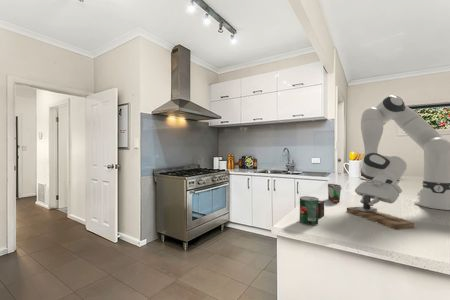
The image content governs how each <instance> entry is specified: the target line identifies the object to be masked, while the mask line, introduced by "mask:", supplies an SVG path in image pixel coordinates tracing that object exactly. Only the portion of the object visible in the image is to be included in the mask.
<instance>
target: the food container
mask: <svg viewBox="0 0 450 300" xmlns="http://www.w3.org/2000/svg"><path fill="white" fill-rule="evenodd" d="M342 190H343V188H342V185H340V184H335V183H328V184H327V196H328V197H327V199H328V200H329V201H330V202H331V203H332V204H339V203H340V202H341V201H340V199H341V191H342Z"/></svg>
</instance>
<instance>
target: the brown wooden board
mask: <svg viewBox="0 0 450 300" xmlns="http://www.w3.org/2000/svg"><path fill="white" fill-rule="evenodd" d="M357 207H358V206H350V207H346V212H348V213H350V214H353V215H354V216H355V215H356V216H358V217H360V216H361V218H363V219H366V220H368V221H370V222H371V221H372V222H373V223H377V224H380V225H382V226H384V227H388V228H389V229H390V228H391V229H393V230H403V229H411V228H412V229H414V228H415V222H413V221H410V220H406V219H403V218H401V217H397V216H395V215H391V214H387V213H385V212H382V211H378V210H377V211H373V212H363V211H360V210H357ZM361 207H363V205H362V206H361ZM413 227H414V228H413Z"/></svg>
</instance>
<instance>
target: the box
mask: <svg viewBox="0 0 450 300" xmlns="http://www.w3.org/2000/svg"><path fill="white" fill-rule="evenodd" d="M323 217H325V201H324V200H320V199H319V200H318V219H322V218H323Z"/></svg>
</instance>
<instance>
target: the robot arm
mask: <svg viewBox="0 0 450 300" xmlns="http://www.w3.org/2000/svg"><path fill="white" fill-rule="evenodd" d="M391 120H393V121H394V122H395V124H396V125H397V126H398V127H399V128H400V129H401V130H402V131H403V132H404V133H405V134H406V135H407V136H408V137H409V138H410V139H411V140H412V141H414V143H416V144H417V146H419V147H420V148H421V149H422V151H423V180H422V188H421V189H420V190H419V191H418V192H417V200H415V201H414V205H416V206H420V207H424V208H430V209H433V210H434V209H435V210H446V211H450V140H448V139H447V138H445V137H443V136H442V134H440V133H439V131H437V130H436V129H435V127H433V126H432V125H431V124H430V123H429V122H428V121H426V120H425V119H424V118H423V117H422V116H421V115H420V114H419V113H418V112H416V111H415V110H414V109H412V108H410V107H409V106H407V105H405V102H404V100H403V99H402V98H401V97H400V96H397V95H392V94H391V95H389V96H386V97H385V98H384V99H383V100H382V101H381V102H380V103H378V104H377V105H376V107H368V108H366V109H365V110H363V112H362V115H361V119H360V130H361V136H362V137H361V138H362V141H363V146H364V156H363V160H362V165H361V169H360V173H361V176H362V177H363V178H364V179H366V180H365V181H362V182H360V183H359V185H358V186H357V187H355V189H354V192H355V193H356V195H358V196H360V197H361V199H360V201H359V202H360V203H361V204H363V195H368V196H371V201H369V202H368V205H369V206H370V207H373V206H374V205H375V204H377V203H379V202H382V203H383V202H384V203H387V204H394V203H395V202H397V200H398V198H399V197H400V194H401V193H402V192H403V190H402V188H401V187H400V186H399V185H398V183H397V181H398V180H400V179H401V178H402V176H403V174H405V171H406V170H407V162H406V161H405V160H404V159H402V157H400V156H397V155H396V156H395V155H394V156H387V155H383V154H380V153H378V149H379V144H380V141H381V138H382V136H383V131H384V125H386V123H388V122H389V121H391Z"/></svg>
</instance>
